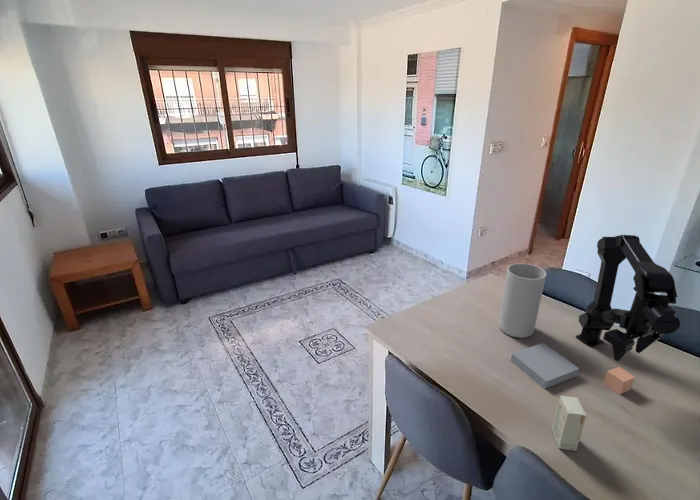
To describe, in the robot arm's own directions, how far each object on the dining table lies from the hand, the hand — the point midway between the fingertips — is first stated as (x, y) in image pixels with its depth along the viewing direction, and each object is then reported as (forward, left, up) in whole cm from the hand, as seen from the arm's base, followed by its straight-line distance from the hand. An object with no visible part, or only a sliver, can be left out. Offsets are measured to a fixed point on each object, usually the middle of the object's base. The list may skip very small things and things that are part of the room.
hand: (627, 356), depth 108 cm
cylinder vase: (+6, -35, -12) cm, 37 cm away
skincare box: (+31, +7, -12) cm, 34 cm away
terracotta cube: (0, 0, -12) cm, 12 cm away
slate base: (+14, -15, -12) cm, 24 cm away
